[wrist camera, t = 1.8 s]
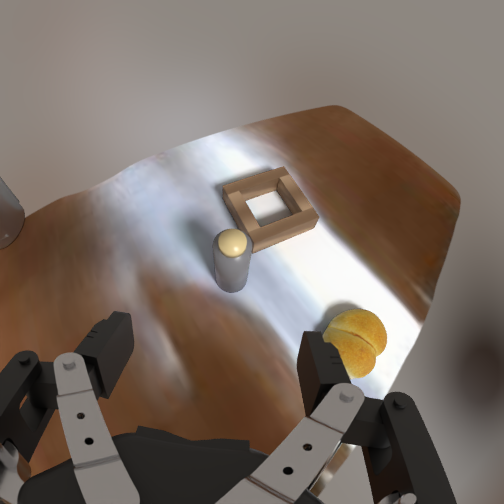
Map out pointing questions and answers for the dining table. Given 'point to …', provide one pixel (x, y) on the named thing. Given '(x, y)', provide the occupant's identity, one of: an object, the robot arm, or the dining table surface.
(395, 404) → the robot arm
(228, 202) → the socket
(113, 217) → the dining table surface
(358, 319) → the bread roll
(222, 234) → the plug
